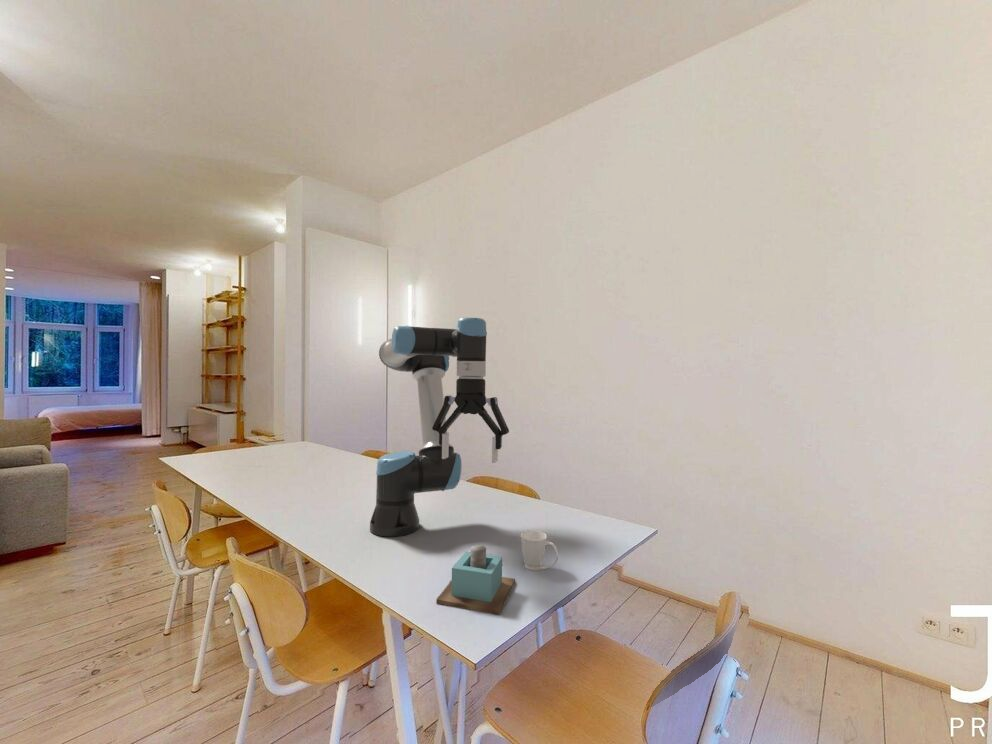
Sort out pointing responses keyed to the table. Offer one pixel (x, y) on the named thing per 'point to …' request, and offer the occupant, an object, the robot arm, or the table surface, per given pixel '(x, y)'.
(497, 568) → the collar
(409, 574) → the table surface
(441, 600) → the post stand
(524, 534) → the cup
